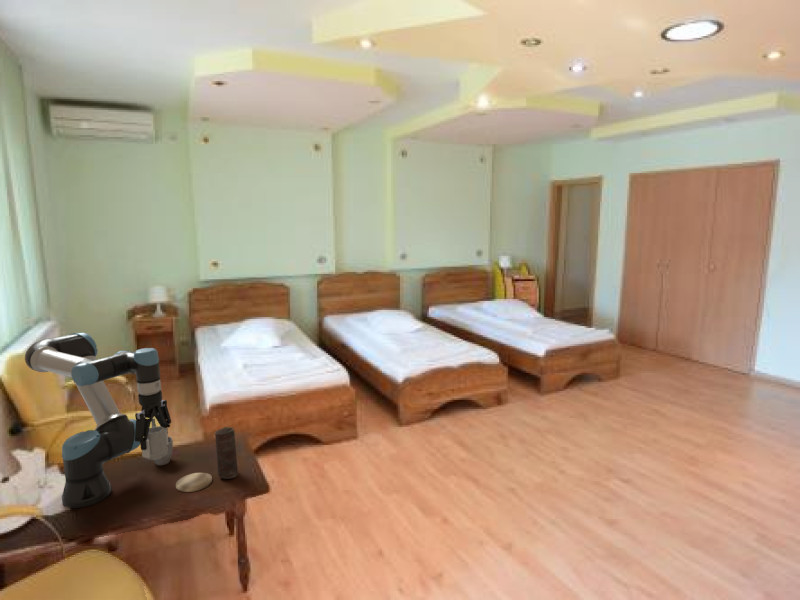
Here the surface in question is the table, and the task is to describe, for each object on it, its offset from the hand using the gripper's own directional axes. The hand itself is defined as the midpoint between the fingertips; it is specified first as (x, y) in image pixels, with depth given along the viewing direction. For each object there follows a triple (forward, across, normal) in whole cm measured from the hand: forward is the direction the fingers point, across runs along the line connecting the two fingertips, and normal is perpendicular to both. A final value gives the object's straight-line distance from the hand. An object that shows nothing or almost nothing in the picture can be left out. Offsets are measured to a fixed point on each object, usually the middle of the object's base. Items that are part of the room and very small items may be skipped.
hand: (155, 450), depth 175 cm
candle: (+18, +17, -17) cm, 31 cm away
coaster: (+18, +10, -7) cm, 22 cm away
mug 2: (+18, +23, +16) cm, 33 cm away
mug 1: (+2, +1, 0) cm, 2 cm away
